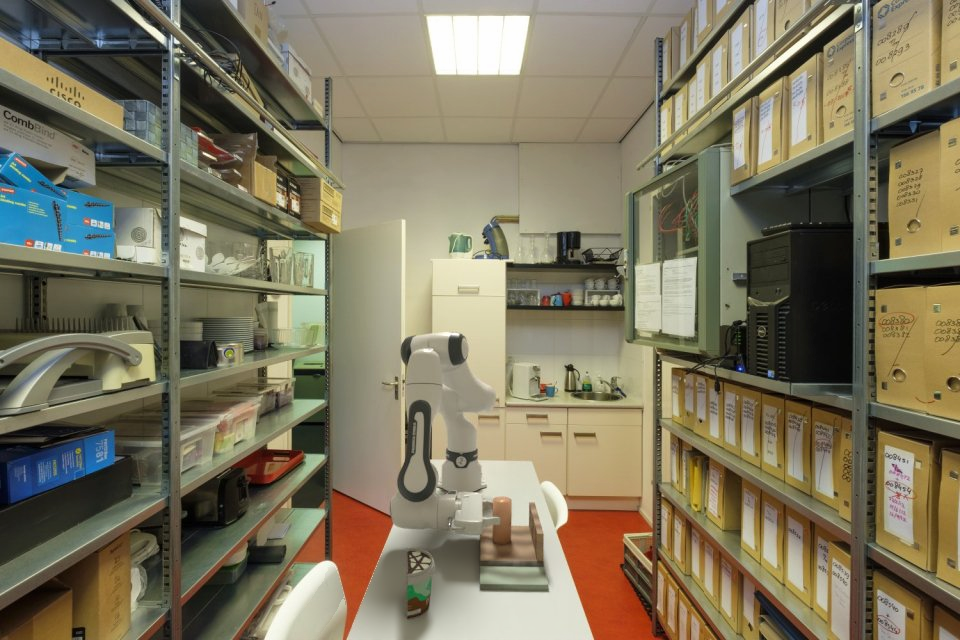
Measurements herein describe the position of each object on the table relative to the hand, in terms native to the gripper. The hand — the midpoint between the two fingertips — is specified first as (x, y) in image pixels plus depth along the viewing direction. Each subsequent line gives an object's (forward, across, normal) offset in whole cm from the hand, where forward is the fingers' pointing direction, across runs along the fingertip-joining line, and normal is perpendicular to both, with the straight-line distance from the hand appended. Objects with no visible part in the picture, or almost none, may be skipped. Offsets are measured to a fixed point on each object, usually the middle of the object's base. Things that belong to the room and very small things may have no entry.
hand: (499, 512), depth 130 cm
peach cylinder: (+1, 0, +8) cm, 8 cm away
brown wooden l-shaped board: (+3, -6, +10) cm, 11 cm away
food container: (-18, -26, +10) cm, 33 cm away
